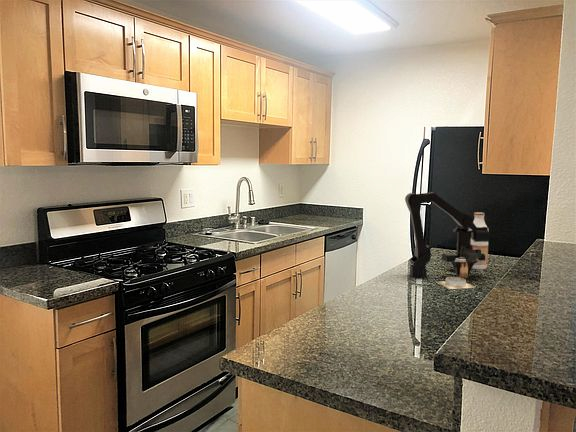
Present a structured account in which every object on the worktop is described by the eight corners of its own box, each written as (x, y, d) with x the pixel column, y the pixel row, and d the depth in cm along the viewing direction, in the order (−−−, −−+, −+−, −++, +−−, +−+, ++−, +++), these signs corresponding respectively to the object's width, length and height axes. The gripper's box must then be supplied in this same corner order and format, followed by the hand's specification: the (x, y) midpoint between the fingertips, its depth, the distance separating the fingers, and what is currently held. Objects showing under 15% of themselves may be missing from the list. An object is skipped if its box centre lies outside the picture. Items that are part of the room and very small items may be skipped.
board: (449, 291, 191) (449, 289, 191) (435, 283, 203) (435, 281, 203) (476, 290, 193) (476, 287, 193) (461, 282, 205) (461, 280, 205)
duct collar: (451, 287, 194) (451, 281, 193) (442, 282, 201) (443, 277, 201) (468, 286, 195) (468, 280, 194) (459, 281, 202) (459, 276, 202)
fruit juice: (481, 270, 227) (483, 214, 224) (463, 267, 234) (465, 212, 231) (490, 267, 233) (493, 212, 230) (473, 264, 240) (475, 211, 237)
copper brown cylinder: (460, 280, 209) (461, 263, 208) (455, 278, 213) (456, 261, 212) (469, 280, 209) (470, 262, 208) (464, 277, 214) (465, 260, 213)
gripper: (453, 245, 200) (452, 280, 202) (493, 244, 203) (491, 278, 204) (441, 241, 211) (440, 274, 213) (479, 240, 214) (478, 273, 215)
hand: (462, 275), depth 211 cm, fingers closed on copper brown cylinder, 4 cm apart
